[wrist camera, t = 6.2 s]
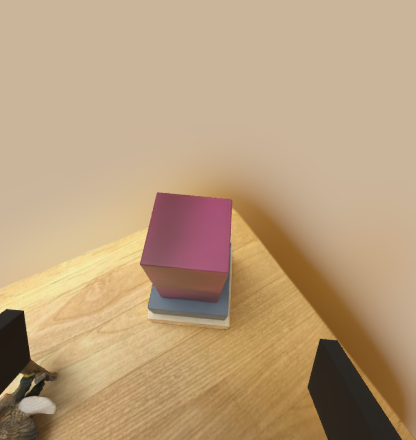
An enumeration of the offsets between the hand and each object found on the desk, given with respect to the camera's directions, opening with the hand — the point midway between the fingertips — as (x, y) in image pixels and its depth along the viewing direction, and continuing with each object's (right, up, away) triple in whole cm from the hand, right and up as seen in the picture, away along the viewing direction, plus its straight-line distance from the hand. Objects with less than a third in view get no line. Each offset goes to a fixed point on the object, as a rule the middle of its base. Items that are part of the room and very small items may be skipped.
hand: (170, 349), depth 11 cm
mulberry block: (0, +1, +12) cm, 12 cm away
